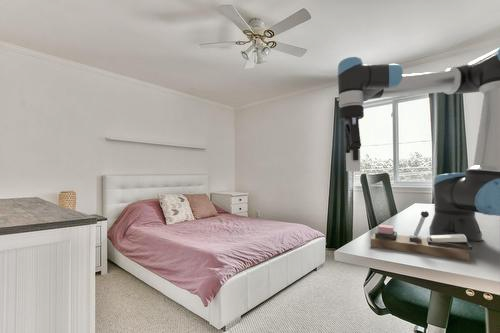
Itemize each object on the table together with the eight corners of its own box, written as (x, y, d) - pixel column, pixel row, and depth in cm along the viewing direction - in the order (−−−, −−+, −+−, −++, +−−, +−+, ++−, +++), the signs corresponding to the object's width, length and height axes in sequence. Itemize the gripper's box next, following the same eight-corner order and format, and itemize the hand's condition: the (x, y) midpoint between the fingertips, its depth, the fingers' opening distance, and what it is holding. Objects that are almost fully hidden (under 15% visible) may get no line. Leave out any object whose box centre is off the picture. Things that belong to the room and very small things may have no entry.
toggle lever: (418, 236, 78) (429, 212, 77) (419, 237, 76) (430, 213, 75) (411, 233, 79) (422, 209, 78) (411, 234, 77) (422, 210, 76)
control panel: (467, 251, 75) (466, 237, 75) (473, 261, 67) (473, 246, 67) (374, 239, 88) (374, 227, 89) (370, 246, 80) (370, 233, 80)
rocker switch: (464, 238, 73) (463, 233, 73) (467, 241, 70) (466, 236, 70) (431, 239, 77) (430, 234, 77) (432, 242, 74) (431, 237, 74)
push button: (393, 231, 83) (393, 225, 83) (392, 234, 79) (392, 228, 79) (379, 230, 85) (379, 224, 85) (378, 232, 82) (378, 226, 82)
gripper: (336, 115, 95) (338, 171, 95) (341, 97, 71) (343, 172, 71) (357, 114, 93) (359, 171, 93) (370, 94, 69) (372, 171, 69)
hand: (352, 171), depth 82 cm, fingers open, 13 cm apart
